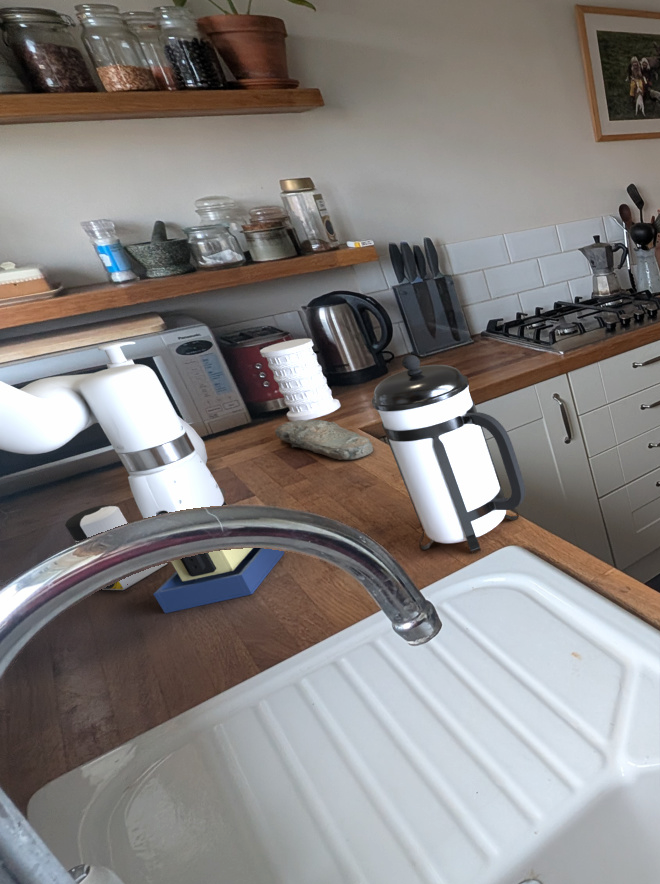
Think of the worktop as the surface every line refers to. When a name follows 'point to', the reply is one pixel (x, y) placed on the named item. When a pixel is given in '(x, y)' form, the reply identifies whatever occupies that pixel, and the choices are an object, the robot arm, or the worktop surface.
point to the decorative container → (300, 379)
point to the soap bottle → (120, 360)
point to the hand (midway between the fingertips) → (216, 558)
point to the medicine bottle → (99, 522)
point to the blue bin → (218, 583)
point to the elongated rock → (325, 439)
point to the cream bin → (215, 562)
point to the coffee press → (446, 453)
